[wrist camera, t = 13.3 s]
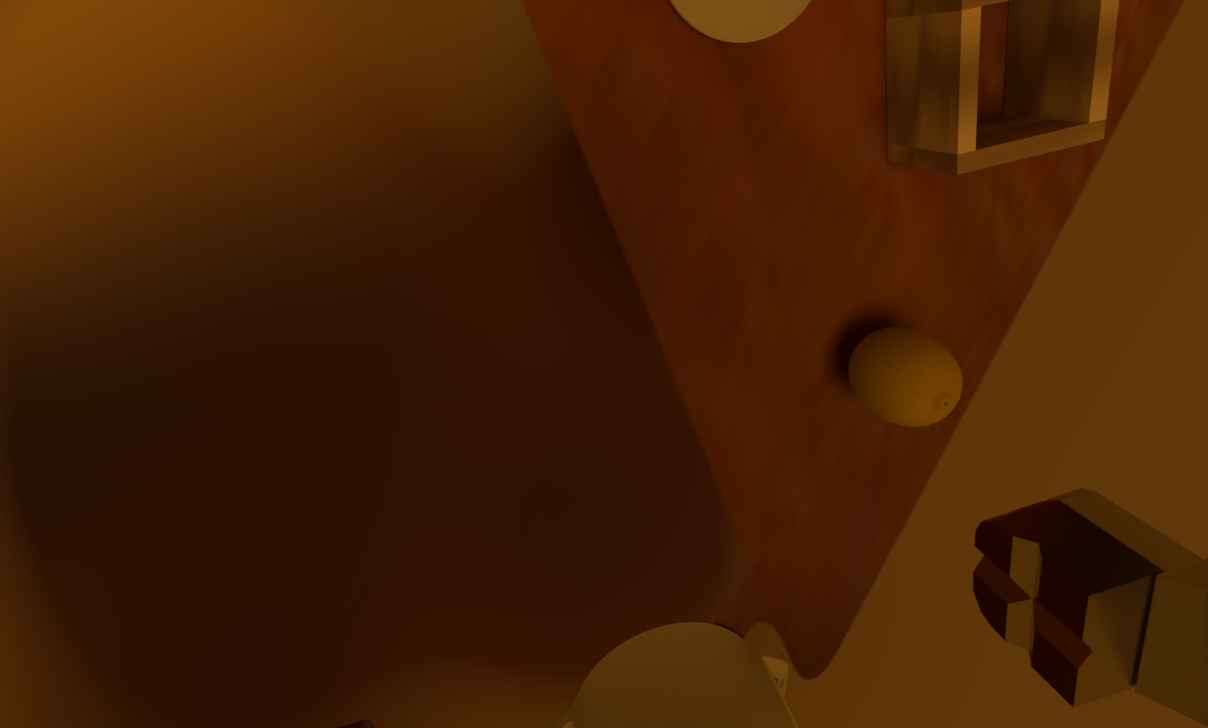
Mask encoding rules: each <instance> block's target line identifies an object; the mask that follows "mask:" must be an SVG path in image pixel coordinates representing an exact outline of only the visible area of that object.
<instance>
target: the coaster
mask: <svg viewBox="0 0 1208 728" xmlns="http://www.w3.org/2000/svg"><path fill="white" fill-rule="evenodd" d="M668 1H669V3H670V4H671V6H672V8H673V9H674V10H675V12H676V13H677V14H678V15H679V17H680V18H681V19H682V20H683V21H684V22H685V23H686V24H687V25H688V26H690V27H691V28H693V29H694V30H695V31H697V32H698V33H700V34H702V35H704V36H706V37H708V38H711V39H714V40H717V41H721V42H727V43H745V42H753V41H757V40H761V39H764V38H767V37H769V36H771V35H774V34H776V33H777V32H779V31H781V30H782V29H784V28H785V27H787V26H788V25H789V24H790V23H791V22H793V21H794V20H795V19H796V18H797V17H798V16H799V15H800V14H801V13H802V12H803V10H804V9H805V8H806V6H807V5H808V4H809V2H810V1H811V0H668Z"/></svg>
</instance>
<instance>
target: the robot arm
mask: <svg viewBox="0 0 1208 728" xmlns="http://www.w3.org/2000/svg"><path fill="white" fill-rule="evenodd" d="M974 546H975V547H976V548H977V549H978V550H979V551H980V552H981V553H982V554H983V555H984V556H983V558H982V559H981V561H980V562H979V564H978V565H977V567H976V568H975V570H974V572H973V592H974V594H975V597H976V600H977V603H978V605H979V608H980V611H981V612H982V614H983V615H984V617H985V618H986V619H987V621H988V623H989V624H990V626H991V627H992V628H993V629H994V630H995V631H996V632H997V633H998V634H999V635H1000V636H1001V637H1002V638H1003V639H1004V640H1005V641H1008V642H1010V643H1012V644H1015V645H1018V646H1020V647H1023V648H1025V649H1028V650H1029V655H1030V662H1031V667H1032V668H1033V669H1034V670H1035V671H1036V672H1037V673H1038V674H1039V675H1040V676H1041V677H1042V678H1043V679H1044V680H1046V682H1048V683H1049V684H1050V685H1051V686H1052V687H1053V688H1054V689H1055V690H1056V691H1057V692H1058V693H1059V694H1060V695H1061V696H1062V697H1063V698H1064V699H1065V700H1066V701H1067V702H1068V703H1069V704H1070V705H1071V706H1072V707H1073V708H1074V707H1077V706H1080V705H1083V704H1086V703H1089V702H1092V701H1095V700H1098V699H1101V698H1104V697H1107V696H1110V695H1113V694H1116V693H1119V692H1122V691H1125V690H1128V689H1131V688H1134V687H1136V688H1135V692H1138V693H1139V694H1142V695H1144V696H1146V697H1148V698H1150V699H1152V700H1154V701H1156V702H1158V703H1160V704H1162V705H1164V706H1166V707H1169V708H1171V709H1173V710H1175V711H1177V712H1179V713H1181V714H1183V715H1185V716H1187V717H1189V718H1192V719H1194V720H1196V721H1198V722H1200V723H1202V724H1204V725H1206V726H1208V558H1206V559H1202V558H1201V557H1199V556H1198V555H1196V554H1194V553H1193V552H1191V551H1190V550H1188V549H1186V548H1185V547H1183V546H1182V545H1180V544H1178V543H1177V542H1175V541H1174V540H1172V539H1170V538H1169V537H1167V536H1166V535H1164V534H1162V533H1161V532H1159V531H1158V530H1156V529H1155V528H1153V527H1151V526H1150V525H1148V524H1147V523H1145V522H1143V521H1142V520H1140V519H1139V518H1137V517H1135V516H1134V515H1132V514H1131V513H1129V512H1127V511H1126V510H1124V509H1123V508H1121V507H1120V506H1118V505H1116V504H1114V503H1113V502H1112V501H1110V500H1108V499H1107V498H1105V497H1104V496H1102V495H1100V494H1099V493H1097V492H1095V491H1092V490H1088V489H1084V488H1081V489H1078V490H1075V491H1072V492H1068V493H1066V494H1062V495H1059V496H1057V497H1053V498H1050V499H1048V500H1047V501H1041V502H1038V503H1035V504H1032V505H1029V506H1026V507H1023V508H1020V509H1017V510H1014V511H1011V512H1008V513H1005V514H1002V515H999V516H996V517H993V518H990V519H987V520H984V521H981V523H980V524H979V526H978V527H977V529H976V531H975V545H974ZM788 672H789V666H788V663H787V661H786V659H785V657H784V655H783V653H782V652H780V651H778V650H775V649H771V648H765V647H759V646H754V645H752V644H750V643H748V642H747V641H745V640H744V639H743V638H741V637H740V636H739V635H737V634H736V633H734V632H732V631H730V630H728V629H726V628H724V627H721V626H718V625H714V624H708V623H701V622H683V623H674V624H669V625H665V626H661V627H657V628H654V629H651V630H648V631H645V632H643V633H641V634H639V635H636V636H634V637H633V638H630V639H629V640H627V641H625V642H624V643H622V644H621V645H619V646H617V647H616V648H615V649H613V650H612V651H611V652H609V653H608V654H607V655H606V656H605V657H604V658H603V659H601V660H600V661H599V663H598V664H597V665H596V666H595V667H594V668H593V669H592V670H591V672H590V673H589V674H588V676H587V677H586V679H585V681H584V682H583V684H582V686H581V688H580V690H579V692H578V694H577V696H576V698H575V700H574V701H573V703H572V704H571V706H570V707H569V708H568V709H567V710H566V711H564V713H562V714H561V715H560V716H559V717H558V718H557V719H556V720H555V721H554V722H553V723H552V724H551V726H549V728H799V727H798V724H797V722H796V720H795V718H794V716H793V714H792V712H791V710H790V708H789V706H788V704H787V702H786V700H785V693H786V685H787V679H788ZM337 728H374V726H373V724H372V722H371V721H370V720H362V721H358V722H354V723H351V724H347V725H344V726H341V727H337Z"/></svg>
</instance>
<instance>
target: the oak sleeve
mask: <svg viewBox="0 0 1208 728" xmlns="http://www.w3.org/2000/svg"><path fill="white" fill-rule="evenodd" d="M1005 1H1009V13H1008V31H1007V50H1006V69H1005V87H1004V106H1003V116H1000V117H996V118H991V119H987V120H983V121H979V122H977V100H978V75H979V49H980V23H981V6H986V5H990V4H995V3H1000V2H1005ZM1118 6H1119V0H885V16H886V99H887V161H891V162H896V163H901V164H906V165H911V166H916V167H921V168H926V169H930V170H935V171H940V172H945V173H950V174H955V175H959V174H963V173H967V172H971V171H975V170H979V169H983V168H987V167H991V166H995V165H1000V164H1004V163H1008V162H1012V161H1016V160H1020V159H1024V158H1028V157H1032V156H1036V155H1040V154H1044V153H1048V152H1053V151H1057V150H1061V149H1065V148H1069V147H1073V146H1077V145H1081V144H1085V143H1089V142H1093V141H1097V140H1101V139H1104V131H1105V122H1106V113H1107V104H1108V95H1109V86H1110V77H1111V68H1112V59H1113V51H1114V42H1115V33H1116V24H1117V15H1118Z"/></svg>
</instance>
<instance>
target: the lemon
mask: <svg viewBox="0 0 1208 728" xmlns="http://www.w3.org/2000/svg"><path fill="white" fill-rule="evenodd" d="M848 374H849V380H850V384H851V387H852V389H853V391H854V393H855V394H856V396H857V398H858V399H859V400H860V401H861V402H862V403H863V404H864V405H865V406H866V407H867V408H868V409H869V410H870V411H871V412H872V413H874V414H875V415H877V416H879V417H881V418H883V419H885V420H887V421H889V422H892V423H894V424H898V425H902V426H909V427H920V426H927V425H930V424H933V423H936V422H938V421H940V420H941V419H943V418H945V417H946V416H947V415H948V414H949V413H950V412H951V411H952V410H953V409H954V407H955V406H956V404H957V402H958V401H959V399H960V395H961V392H962V381H963V379H962V375H961V371H960V367H959V365H958V364H957V362H956V360H955V359H954V357H953V356H952V354H951V353H950V352H949V351H948V350H947V349H946V348H945V347H944V346H943V345H942V344H940V343H939V342H938V341H937V340H936V339H934V338H933V337H931V336H930V335H928V334H926V333H923V332H920V331H918V330H915V329H912V328H907V327H887V328H883V329H879V330H877V331H875V332H872V333H870V334H869V335H868V336H866V337H865V338H863V339H862V340H861V341H860V342H859V344H858V345H857V346H856V347H855V349H854V351H853V353H852V355H851V358H850V361H849V368H848Z"/></svg>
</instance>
